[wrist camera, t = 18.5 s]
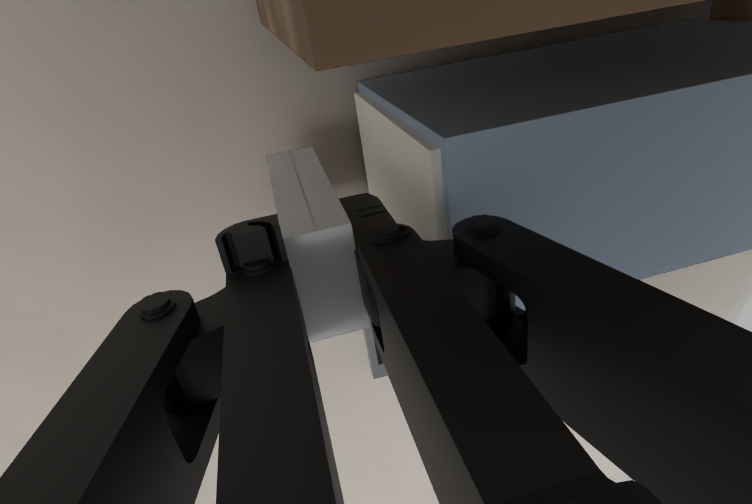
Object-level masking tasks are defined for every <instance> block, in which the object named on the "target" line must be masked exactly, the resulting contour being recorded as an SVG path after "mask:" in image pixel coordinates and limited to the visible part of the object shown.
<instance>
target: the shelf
mask: <svg viewBox="0 0 752 504" xmlns="http://www.w3.org/2000/svg"><path fill="white" fill-rule="evenodd" d="M699 1H704V0H256V3H257V7H258V12H259V16H260V20H261V23H262V24H263V25H264V26H265V27H266V28H268V29H269V30H270V31H271V32H272V33H273V34H274V35H275V36H277V37H278V38H279V39H280V40H281V41H282V42H283V43H285V44H286V45H287V46H288V47H289V48H290V49H291V50H292V51H294V52H295V53H296V54H297V55H298V56H299V57H300V58H302V59H303V60H304V61H305V62H306V63H307V64H308V65H309V66H311V67H312V68H313V69H314V70H315V71H319V70H325V69H330V68H336V67H341V66H347V65H352V64H358V63H363V62H369V61H374V60H380V59H385V58H391V57H396V56H402V55H407V54H413V53H418V52H424V51H429V50H435V49H440V48H446V47H451V46H457V45H462V44H468V43H473V42H479V41H484V40H490V39H495V38H501V37H506V36H512V35H517V34H523V33H528V32H534V31H539V30H545V29H550V28H556V27H561V26H567V25H572V24H578V23H583V22H589V21H594V20H600V19H605V18H611V17H616V16H622V15H627V14H633V13H638V12H644V11H649V10H655V9H660V8H666V7H671V6H677V5H682V4H688V3H693V2H699ZM710 20H723V21H752V0H713V6H712V12H711V18H710Z"/></svg>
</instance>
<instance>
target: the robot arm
mask: <svg viewBox="0 0 752 504" xmlns="http://www.w3.org/2000/svg"><path fill="white" fill-rule="evenodd" d="M267 160H268V165H269V171H270V176H271V182H272V187H273V193H274V199H275V204H276V210H277V214H274V215H270V216H265V217H261V218H256V219H252V220H247V221H243V222H240V223H237V224H234V225H232V226H230V227H228V228H226V229H224V230H223V231H222V232H220V233H219V234H218V235H217V237H216V239H215V242H216V245H217V248H218V251H219V254H220V257H221V260H222V263H223V266H224V269H225V272H226V287H225V288H223V289H222V290H220V291H219V292H217V293H216V294H214V295H212V296H210V297H207V298H205V299H203V300H200V301H198V302H196V303H194V301H193V298H192V297H191V295H190V294H189V293H188V292H185V291H182V290H170V291H165V292H157V293H154V294H152V295H149V296H146V297H144V298H143V299H142V300H141V301H139V302H137V303H136V304H134V305H133V306H132V307H131V308H129V309H128V310H127V311H126V312H125V313H124V315H123V316H122V317H121V319H120V320H119V321H118V323H117V324H116V325H115V327H114V328H113V329H112V331H111V332H110V333H109V335H108V336H107V337H106V339H105V340H104V341H103V343H102V344H101V345H100V347H99V348H98V349H97V350H96V352H95V353H94V354H93V356H92V357H91V358H90V360H89V361H88V362H87V364H86V365H85V366H84V368H83V369H82V370H81V372H80V373H79V374H78V376H77V377H76V378H75V380H74V381H73V382H72V384H71V385H70V386H69V388H68V389H67V390H66V392H65V393H64V394H63V396H62V397H61V398H60V399H59V401H58V402H57V403H56V405H55V406H54V407H53V409H52V410H51V411H50V413H49V414H48V415H47V417H46V418H45V419H44V421H43V422H42V423H41V425H40V426H39V427H38V429H37V430H36V431H35V433H34V434H33V435H32V437H31V438H30V439H29V441H28V442H27V443H26V445H25V446H24V447H23V448H22V450H21V451H20V452H19V454H18V455H17V456H16V458H15V459H14V460H13V462H12V463H11V464H10V466H9V467H8V468H7V470H6V471H5V472H4V474H3V475H2V476H1V478H0V504H194V503H195V500H196V497H197V495H198V492H199V489H200V486H201V483H202V480H203V477H204V474H205V471H206V468H207V466H208V463H209V460H210V457H211V454H212V451H213V448H214V445H215V442H216V439H217V436H218V434H219V450H218V473H217V495H216V504H344V501H343V496H342V491H341V487H340V482H339V477H338V472H337V468H336V463H335V458H334V454H333V449H332V444H331V439H330V435H329V430H328V425H327V421H326V416H325V411H324V406H323V402H322V397H321V392H320V388H319V383H318V378H317V373H316V369H315V364H314V359H313V355H312V351H311V347H310V343H311V342H315V341H319V340H322V339H326V338H330V337H334V336H338V335H341V334H345V333H349V332H353V331H357V330H360V329H364V328H368V327H370V326H369V320H368V316H369V318H370V320H371V326H372V332H373V337H374V343H375V349H376V354H377V360H378V365H380V364H383V363H384V366H385V368H386V371H387V373H388V376H389V378H390V381H391V383H392V386H393V388H394V391H395V393H396V396H397V398H398V401H399V403H400V406H401V408H402V411H403V413H404V416H405V418H406V421H407V423H408V426H409V428H410V431H411V433H412V436H413V439H414V441H415V444H416V446H417V449H418V451H419V454H420V456H421V459H422V461H423V464H424V466H425V469H426V471H427V474H428V476H429V479H430V481H431V484H432V486H433V489H434V491H435V494H436V496H437V499H438V501H439V504H752V332H750V331H748V330H746V329H744V328H742V327H739V326H737V325H735V324H733V323H731V322H729V321H726V320H724V319H722V318H720V317H718V316H716V315H714V314H711V313H709V312H707V311H705V310H703V309H701V308H698V307H696V306H694V305H692V304H690V303H688V302H685V301H683V300H681V299H679V298H677V297H675V296H672V295H670V294H668V293H666V292H664V291H662V290H659V289H657V288H655V287H653V286H651V285H649V284H646V283H644V282H642V281H640V280H638V279H636V278H633V277H631V276H629V275H627V274H625V273H623V272H621V271H618V270H616V269H614V268H612V267H610V266H608V265H605V264H603V263H601V262H599V261H597V260H595V259H592V258H590V257H588V256H586V255H584V254H582V253H579V252H577V251H575V250H573V249H571V248H569V247H566V246H564V245H562V244H560V243H558V242H556V241H553V240H551V239H549V238H547V237H545V236H543V235H541V234H538V233H536V232H534V231H532V230H530V229H528V228H525V227H523V226H521V225H519V224H517V223H515V222H512V221H510V220H508V219H505V218H502V217H499V216H490V215H487V214H483V215H481V216H479V215H474V216H472V217H469V218H466V219H463V220H461V221H459V222H457V223H456V224H455V225H454V226H453V228H452V235H453V239H449V240H431V241H427V240H422V239H421V238H420V236H419V235H418V234H417V232H416V231H415V230H414V229H413V228H411V227H410V226H408V225H404V224H397V223H396V221H395V220H394V219H393V217H392V216H391V214H390V213H389V212H388V211H387V209H386V207H385V206H383V203H382V202H381V201H380V199H379V198H378V197H376V196H374V195H371V194H369V193H363V194H358V195H354V196H349V197H345V198H340V199H338V197H337V195H336V193H335V191H334V189H333V187H332V185H331V183H330V181H329V179H328V177H327V175H326V173H325V171H324V169H323V167H322V165H321V164H320V162H319V160H318V158H317V156H316V154H315V152H314V150H313V148H312V147H307V148H302V149H297V150H292V151H288V152H283V153H278V154H273V155H268V156H267ZM515 295H516V296H517V297H519V298H520V300H521V301H522V303H523V304H524V306H525V311H524V310H522V309H521V308H519V307H518V306H516V302H515ZM367 313H368V315H367ZM563 421H564V422H565V423H566V424H567V425H568V426H569V427H571V428H572V429H573V430H574V431H575V432H577V433H578V434H579V435H580V436H581V437H583V438H584V439H585V440H586V441H587V442H589V443H590V444H591V445H592V446H593V447H595V448H596V449H597V450H598V451H599V452H601V453H602V454H603V455H604V456H605V457H606V458H608V459H609V460H610V461H611V462H612V463H614V464H615V465H616V466H617V467H618V468H620V469H621V470H622V471H623V472H624V473H626V474H627V475H628V476H629V477H630V478H632V479H633V480H634V481H633V480H631V481H625V482H619V483H615V482H614V481H612V480H610V479H608V478H607V477H606V476H605V475H604V473H603V472H602V471H601V470H600V469H599V468H598V466H597V465H596V464H595V463H594V461H593V460H592V459H591V457H590V456H589V455H588V454H587V452H586V451H585V450H584V448H583V447H582V446H581V444H580V443H579V442H578V441H577V439H576V438H575V437H574V435H573V434H572V433H571V432H570V430H569V429H568V428H567V426H566V425H565V424H564V423H563Z"/></svg>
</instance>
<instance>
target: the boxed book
mask: <svg viewBox="0 0 752 504" xmlns="http://www.w3.org/2000/svg"><path fill="white" fill-rule="evenodd" d="M357 83H358V90H359V91H358V92H354V98H355V105H356V111H357V117H358V124H359V130H360V137H361V143H362V149H363V156H364V162H365V169H366V175H367V182H368V188H369V194H371V195H374V196H376V197H378V198H379V199H380V201H381V202H382V203H383V206H385V207H386V209H387V211H388V212H389V213H390V214H391V216H392V217H393V219H394V220H395V221H396V223H397V224H404V225H408V226H410V227H411V228H413V229H414V230H415V231H416V232H417V234H418V235H419V236H420V238H421V239H422V240H427V241H431V240H449V239H453V235H452V228H453V226H454V225H455V224H456V223H457V222H459V221H461V220H463V219H466V218H469V217H472V216H474V215H479V216H481V215H483V214H487V215H490V216H499V217H502V218H505V219H508V220H510V221H512V222H515V223H517V224H519V225H521V226H523V227H525V228H528V229H530V230H532V231H534V232H536V233H538V234H541V235H543V236H545V237H547V238H549V239H551V240H553V241H556V242H558V243H560V244H562V245H564V246H566V247H569V248H571V249H573V250H575V251H577V252H579V253H582V254H584V255H586V256H588V257H590V258H592V259H595V260H597V261H599V262H601V263H603V264H605V265H608V266H610V267H612V268H614V269H616V270H618V271H621V272H623V273H625V274H627V275H629V276H631V277H633V278H636V279H638V280H640V279H643V278H647V277H651V276H654V275H658V274H662V273H665V272H669V271H673V270H676V269H680V268H684V267H688V266H691V265H695V264H699V263H702V262H706V261H710V260H713V259H717V258H721V257H725V256H728V255H732V254H736V253H739V252H743V251H747V250H750V249H752V21H723V20H693V19H688V20H683V21H677V22H672V23H666V24H661V25H656V26H650V27H645V28H640V29H634V30H629V31H624V32H618V33H613V34H608V35H602V36H597V37H592V38H586V39H581V40H576V41H570V42H565V43H560V44H554V45H549V46H544V47H538V48H533V49H528V50H522V51H517V52H512V53H506V54H501V55H496V56H490V57H485V58H480V59H474V60H469V61H464V62H458V63H453V64H448V65H442V66H437V67H432V68H426V69H421V70H416V71H410V72H405V73H400V74H394V75H389V76H384V77H378V78H373V79H368V80H362V81H357ZM515 302H516V306H518V307H519V308H521V309H522V310H524V311H525V306H524V304H523V303H522V301H521V300H520V298H519V297H517V296H516V295H515Z"/></svg>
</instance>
